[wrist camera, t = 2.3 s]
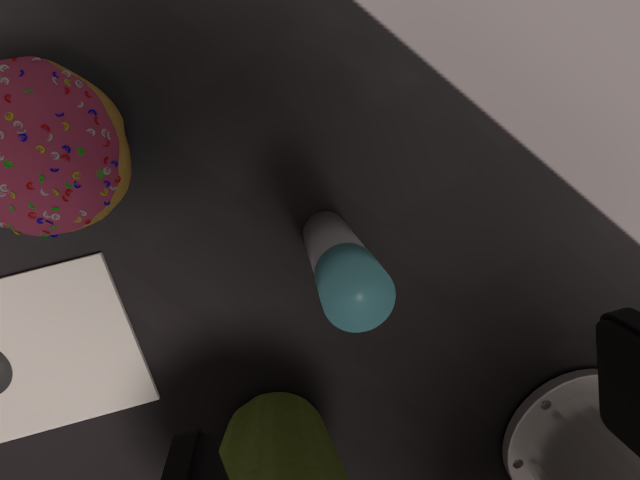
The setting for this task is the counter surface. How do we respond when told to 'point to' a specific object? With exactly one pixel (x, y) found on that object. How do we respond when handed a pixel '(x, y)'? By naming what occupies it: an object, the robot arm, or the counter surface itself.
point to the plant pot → (279, 442)
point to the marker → (347, 275)
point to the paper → (66, 349)
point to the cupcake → (57, 149)
